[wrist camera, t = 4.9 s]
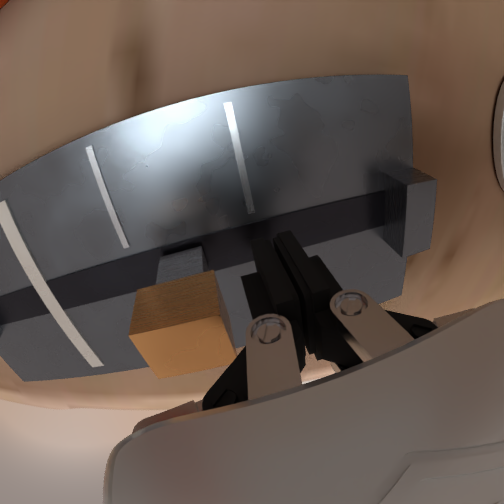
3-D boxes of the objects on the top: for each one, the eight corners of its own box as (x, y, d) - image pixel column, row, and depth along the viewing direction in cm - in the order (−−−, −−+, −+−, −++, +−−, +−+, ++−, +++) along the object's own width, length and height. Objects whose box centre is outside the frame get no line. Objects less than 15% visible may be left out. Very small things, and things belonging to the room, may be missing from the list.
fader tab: (209, 233, 13) (220, 314, 8) (222, 276, 14) (238, 362, 10) (146, 250, 13) (128, 335, 8) (164, 291, 14) (158, 378, 10)
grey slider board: (385, 74, 13) (434, 77, 9) (387, 278, 20) (416, 313, 17) (-60, 223, 11) (-91, 252, 7) (30, 364, 18) (18, 400, 15)
